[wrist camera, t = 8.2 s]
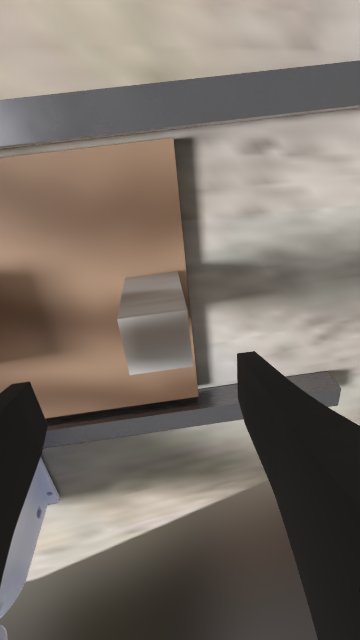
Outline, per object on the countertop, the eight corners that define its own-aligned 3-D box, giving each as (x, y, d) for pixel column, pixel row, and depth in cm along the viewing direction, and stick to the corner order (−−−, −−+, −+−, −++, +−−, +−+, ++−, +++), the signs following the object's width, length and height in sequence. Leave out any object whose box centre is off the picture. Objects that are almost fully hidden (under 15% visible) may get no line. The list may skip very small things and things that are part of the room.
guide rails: (324, 387, 25) (337, 405, 23) (-10, 435, 24) (-22, 457, 22) (373, 66, 15) (403, 55, 13) (-183, 128, 14) (-229, 125, 12)
